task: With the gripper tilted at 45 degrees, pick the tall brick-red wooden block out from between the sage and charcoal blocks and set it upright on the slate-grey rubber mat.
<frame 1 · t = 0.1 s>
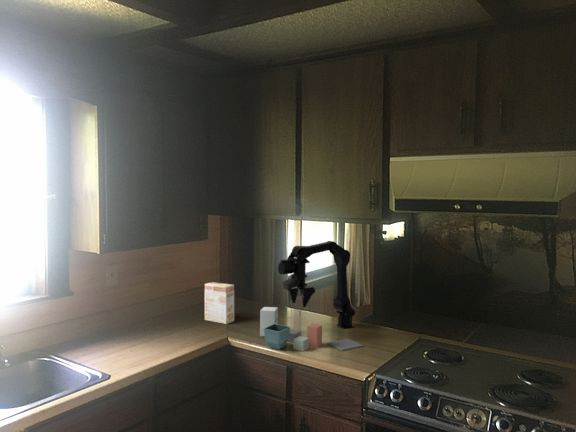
hand: (299, 305, 238), 15 cm above the worktop, tool pointing down, fingers open, 9 cm apart
coffeecake box: (219, 321, 263), on the worktop
brick-red block: (314, 345, 225), on the worktop
sage block: (301, 348, 220), on the worktop
flower pot: (277, 347, 221), on the worktop
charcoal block: (293, 341, 230), on the worktop
supplement box: (269, 334, 240), on the worktop
slate mat: (345, 345, 225), on the worktop
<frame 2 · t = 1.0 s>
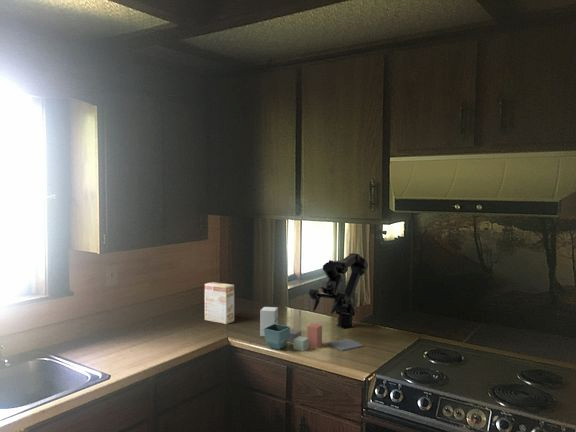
hand: (322, 311, 231), 13 cm above the worktop, tool tilted 45°, fingers open, 9 cm apart
nothing on the worktop moved.
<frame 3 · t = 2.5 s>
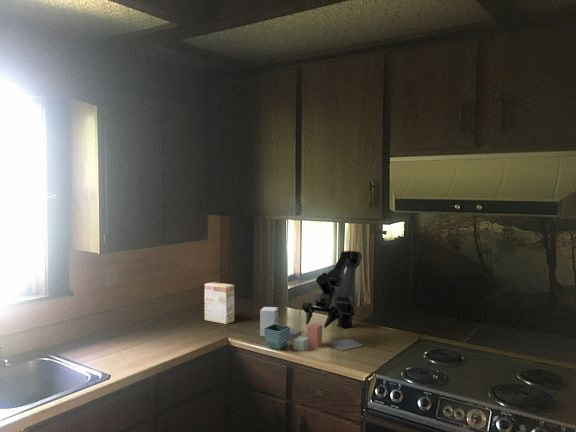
hand: (315, 325, 225), 9 cm above the worktop, tool tilted 45°, fingers open, 9 cm apart
nothing on the worktop moved.
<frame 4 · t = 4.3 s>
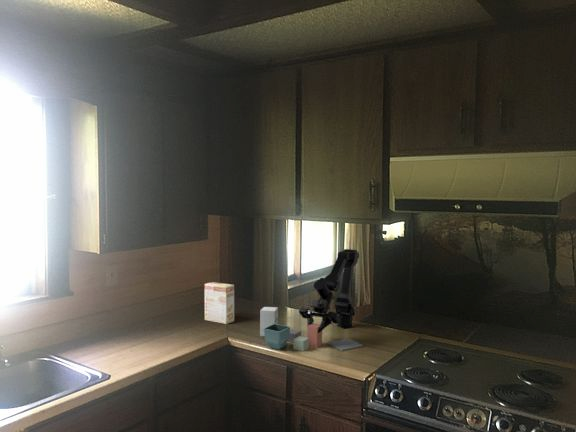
hand: (313, 331, 223), 7 cm above the worktop, tool tilted 45°, fingers closed on brick-red block, 5 cm apart
brick-red block: (314, 345, 225), on the worktop, touching gripper
everything else where it was.
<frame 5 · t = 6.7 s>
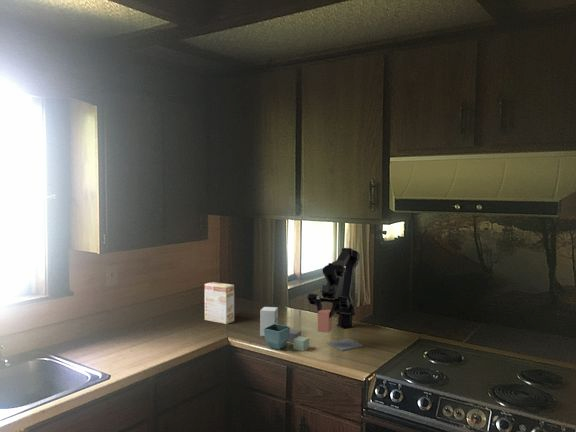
hand: (324, 316, 222), 13 cm above the worktop, tool tilted 45°, fingers closed on brick-red block, 5 cm apart
brick-red block: (324, 330, 224), point 7 cm above the worktop, touching gripper
everything else where it was.
when the fingers open (8 cm above the worktop, at t = 9.5 s): brick-red block drops 1 cm, resting on slate mat.
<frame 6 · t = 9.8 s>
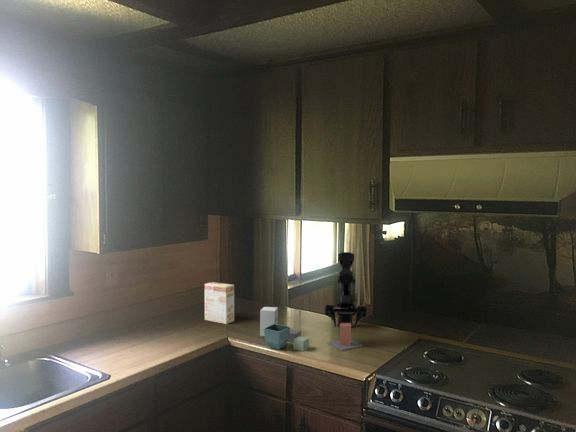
hand: (345, 327, 223), 9 cm above the worktop, tool tilted 45°, fingers open, 9 cm apart
brick-red block: (345, 343, 225), resting on slate mat
everything else where it was.
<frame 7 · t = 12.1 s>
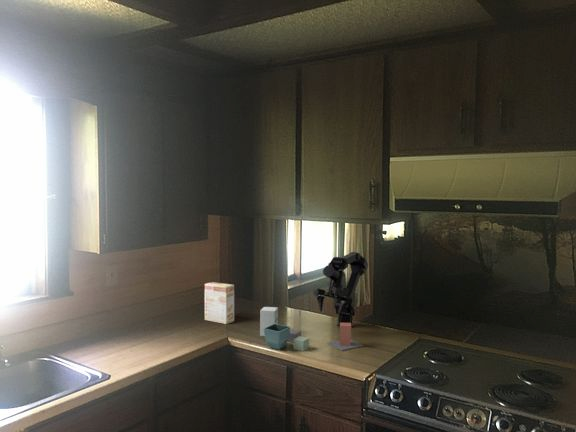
hand: (329, 314, 237), 11 cm above the worktop, tool tilted 25°, fingers open, 9 cm apart
nothing on the worktop moved.
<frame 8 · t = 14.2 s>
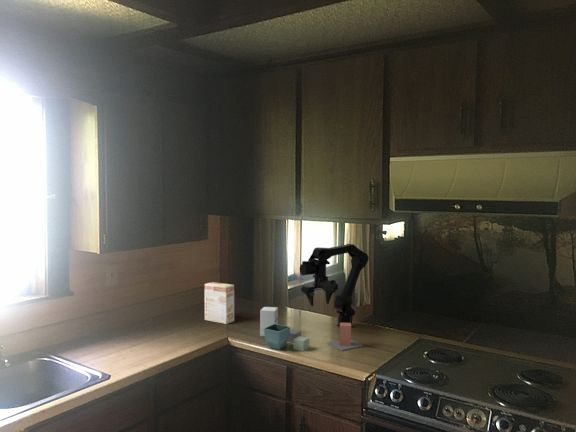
hand: (319, 305, 244), 13 cm above the worktop, tool pointing down, fingers open, 9 cm apart
nothing on the worktop moved.
at the end: brick-red block inside the target area on the slate mat (0.0 cm from its centre), point 0.5 cm above the slate mat's base; brick-red block tilted 0°; the gripper is holding nothing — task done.
